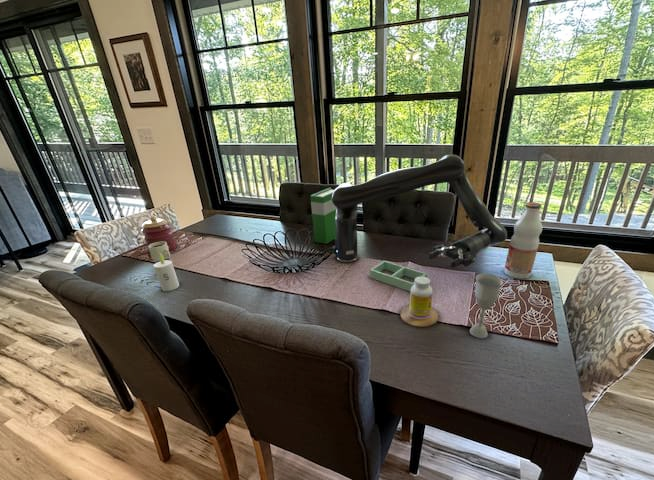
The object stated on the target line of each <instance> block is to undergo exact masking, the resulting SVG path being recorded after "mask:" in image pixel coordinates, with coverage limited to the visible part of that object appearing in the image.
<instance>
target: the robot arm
mask: <svg viewBox="0 0 654 480" xmlns="http://www.w3.org/2000/svg"><path fill="white" fill-rule="evenodd" d="M465 169H466V165H465V162H464V160H463V159H462V158H461V157H460V156H459V155H457V154H452V153H450V154H449V153H448V154H446V155H444V156H442V157H441V158H440V159H439V160H437V161H435V162H431V163H429V164H426V165H421V166H412V167H405V168H404V167H403V168H399V169H395V170H392V171H388V172H385V173H382V174H379V175H377V176H375V177H373V178H371V179H369V180H367V181H365V182H362V183H359V184H351V183H350V182H344V183H341V184H339V185H338V186H337V187H336V188H335V189H334V190H335V191H334V192H333V194H332V202H333V204H334V205H335V206H336V216H335V225H336V238H335V239H334V245H332V246H331V247H328V248H326V249H325V250H324V251H322V252H309V251H300V250H295V249H287V248H286V249H285V248H280V247H276V246H275V247H274V246H270V245H265V244H261V243H256V242H251V241H249V240H248V241H247V240H243V239H240V238H239V239H238V238H235V237H231V236H226V235H220V234H214V233H208V232H198V231H192V234H194V235H204V236H212V237H217V238H223V239H228V240H233V241H237V242H241V243H246V244H248V245H249V244H250V245H253V246H258V247H261V248H267V249H270V250H271V249H272V250H277V251H283V252H287V253H294V254H295V253H296V254H301V255H311V256H321V255H324V254H326V253H327V252H328V251H330V252H331V253H332V254H335V259H337V261H339V262H341V263H352V262H355V261H357V260H358V258H359V255H358V222H357V221H358V220H357V219H358V205H361V204H363V203H366V202H371V201H376V200H381V199H386V198H389V197H394V196H398V195H402V194H405V193H410V192H412V191H415V190H418V189H422V188H424V187H428V186H432V185H440V184H445V183H447V184H449V186H450V187H451V189H452V190H453V191H454V193H455V195H456V196H457V198H458V200H459V202H460V204H461V206H462V208H463V209H464V212H465V213H466V215H467V217H468V218H469V220H470V221H471V223H472V225H473V226H474V227H476V228H483V229H481V230H478V231H477V232H476V233H474V234H472V235H468V236H465V237H462V238H461V239H458V240H456V241H455V242H454V243H453V244H452V245H451V246H446V244H445V243H440V244H438V245H435V246H433V247H432V249H431V252H429V253H428V258H429V260H433V259H434V260H435V259H436V258H438V257H442V258H443V259H445V258H450V259H452V260H451V261H450V268H451V269H453V268H457V267H459V266H463V267H469V266H471V265H472V264H475V263H476V259H477V255H479V254H480V253H481V252H483V251H486V250H487V249H488V248H489V247H490V246H494V245H498V244H503V243H504V242H506V240H507V238H508V231H507V229H506V228H505V226H503V224H502V223H501V222H500V221H499V220H497V219H496V218H495V217H494V216H493V215H492V214H491V212H490V211H489V209H488V208H487V206H486V204H485V203H484V202H483V199H482V198H481V196H480V195H479V194H478V192H477V191H476V190H475V188H474V187H473V185H472V184H471V182H470V180H469V178H468V176H467V173H466V172H465Z"/></svg>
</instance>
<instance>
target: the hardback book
mask: <svg viewBox="0 0 654 480" xmlns="http://www.w3.org/2000/svg"><path fill="white" fill-rule="evenodd" d="M334 191H335V189H332V187H328V188H325V189H323V190H320V191H318V192H316V193H313V194H311V195H309V197H310V206H311V208H310V209H311V219H312V229H313V240H314V241H313V242H314V243H318V244H319V243H320V244H325V245H327V244H329V243H330V242H332V241H333V240H335V238H336V225H335V216H336V206H335V205H334V204H333V202H332V194H333V192H334Z"/></svg>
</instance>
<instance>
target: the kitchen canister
mask: <svg viewBox="0 0 654 480" xmlns="http://www.w3.org/2000/svg"><path fill="white" fill-rule="evenodd" d="M141 227H142V229H141V231H140V232H142V233H143V239H144V241H145V244H146V246H147V250H148V252H149V253H150V251H149V248H148V246H149V245H150V244H152V243H156V242H166V243H167V246H168V249H169V252H170V253H171V252H172V251H174V250H175V249H177V242H176V240H175V237H174V234H173V230H172V229H171V224H170V223H168V220H166V219H164V218H157V217H156V216H150V218H149V219H148V220H146V221H144V222H143V223H142V224H141Z"/></svg>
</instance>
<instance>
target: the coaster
mask: <svg viewBox="0 0 654 480" xmlns="http://www.w3.org/2000/svg"><path fill="white" fill-rule="evenodd" d="M409 309H410V304H409V305H406V306H404V307H402V309H401V310H400V313H399V314H400V318H401V321H403V322H404V323H405V324H407V325H410V326H412V327H416V328H426V327H431V326H434V325H436V324H437V323H438V320H439V313H438V312H437V311H436V310H435V309H434V308H432V307H431V312H430V316H429V317H428V318H427V319H424V320H418V319H415V318H413V317H412V316H411V315H410V313H409Z"/></svg>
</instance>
